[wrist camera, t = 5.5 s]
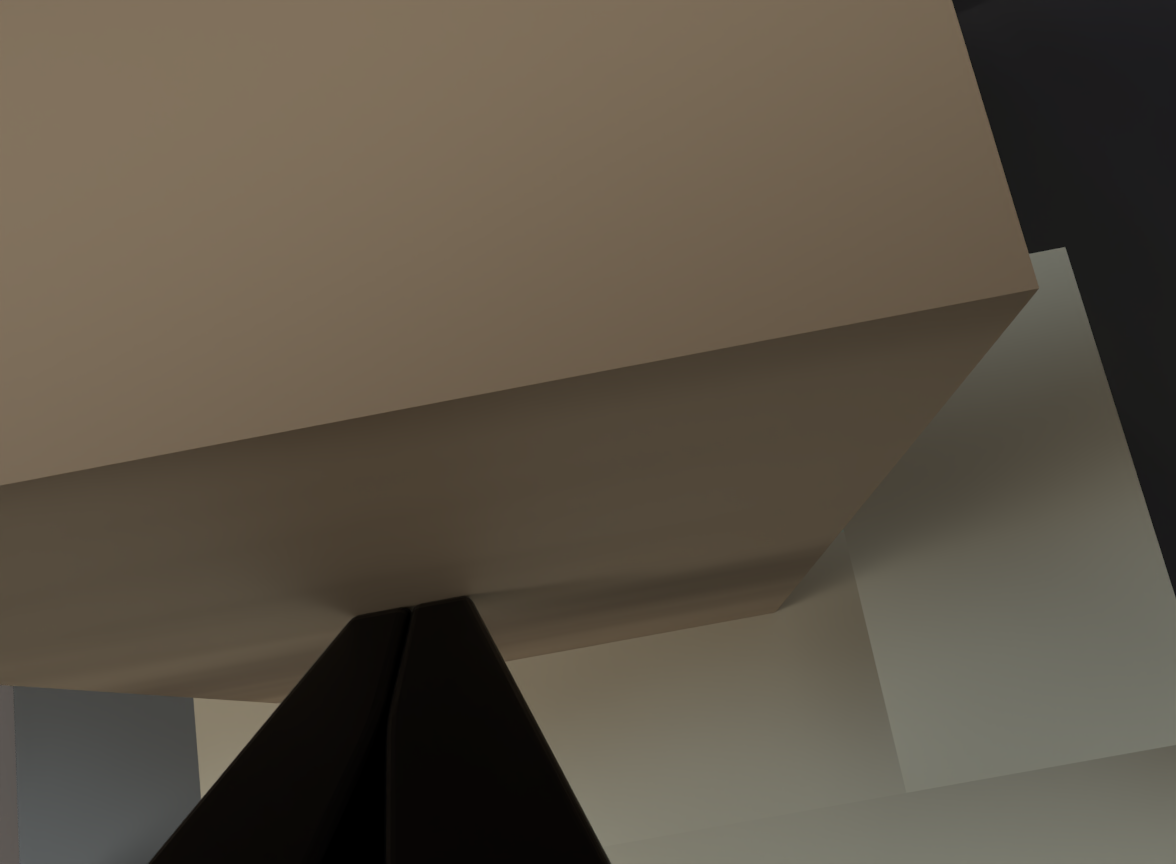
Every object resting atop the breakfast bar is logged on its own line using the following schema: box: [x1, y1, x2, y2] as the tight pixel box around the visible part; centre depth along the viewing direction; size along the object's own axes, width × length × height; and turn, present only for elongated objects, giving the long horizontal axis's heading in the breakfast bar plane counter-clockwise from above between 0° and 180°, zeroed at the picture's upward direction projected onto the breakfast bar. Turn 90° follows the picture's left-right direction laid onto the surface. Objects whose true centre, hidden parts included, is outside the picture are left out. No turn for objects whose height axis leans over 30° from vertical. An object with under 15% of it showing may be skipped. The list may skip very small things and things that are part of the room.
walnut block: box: [0, 0, 1039, 703], centre depth 9 cm, size 6×6×10 cm
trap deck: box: [13, 247, 1176, 864], centre depth 14 cm, size 22×15×2 cm
